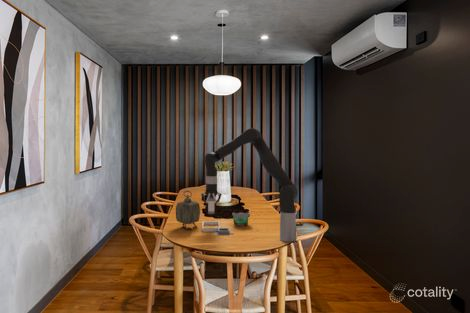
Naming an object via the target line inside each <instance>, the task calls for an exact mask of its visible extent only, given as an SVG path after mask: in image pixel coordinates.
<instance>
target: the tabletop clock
mask: <svg viewBox="0 0 470 313" xmlns="http://www.w3.org/2000/svg"><path fill="white" fill-rule="evenodd" d="M185 193H190V195H189V194H188V195H186V194H185ZM183 196H184V197H185V198H184V199H183V201H182V200H181V201H180V202H179V201H178V202H177V203H176V206H175V219H176V221H177V222H178V223H181V224H182V226H183V228H184V229H187V225H191V224H193V225H194V227H195V228H197V227H198V226H197V225H196V224H195V223H197V222H199V221H200V216H201V206H200V203H199V202H197V201H194V200H192V198H191V197H192V196H193V193H192V192H191V191H189V190H185V191H184V192H183Z"/></svg>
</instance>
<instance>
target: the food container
mask: <svg viewBox="0 0 470 313" xmlns="http://www.w3.org/2000/svg"><path fill="white" fill-rule="evenodd" d="M231 215H232V220H233V225H234V226H235V227H247V226H248V225H249V217H250V212H232V214H231Z"/></svg>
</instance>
